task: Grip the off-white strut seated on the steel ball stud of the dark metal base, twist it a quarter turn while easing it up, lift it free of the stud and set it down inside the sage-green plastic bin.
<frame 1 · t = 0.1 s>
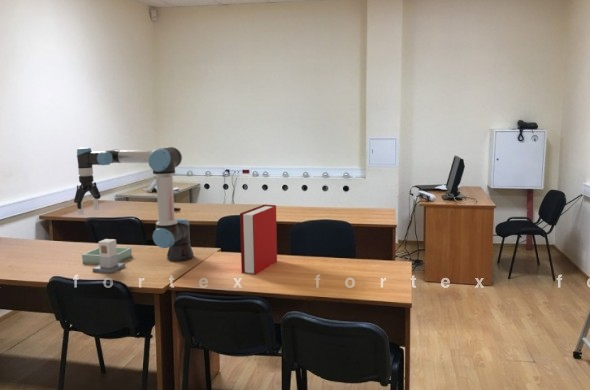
hand: (88, 212, 285), 28 cm above the table, fingers open, 13 cm apart
strut: (109, 265, 270), point 2 cm above the table, touching stud block
stud block: (109, 269, 270), on the table
book: (260, 267, 272), on the table
bin: (107, 259, 288), on the table
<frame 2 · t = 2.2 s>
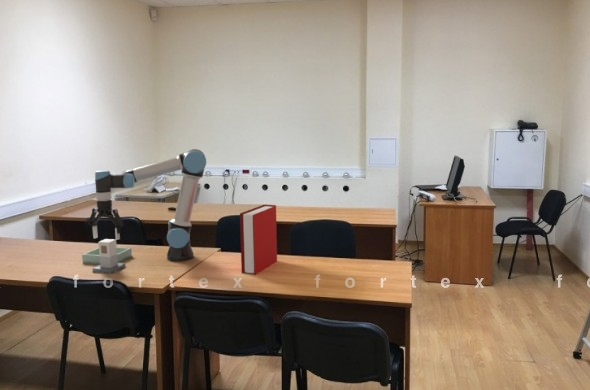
hand: (106, 238, 267), 17 cm above the table, fingers open, 13 cm apart
nothing on the table moved.
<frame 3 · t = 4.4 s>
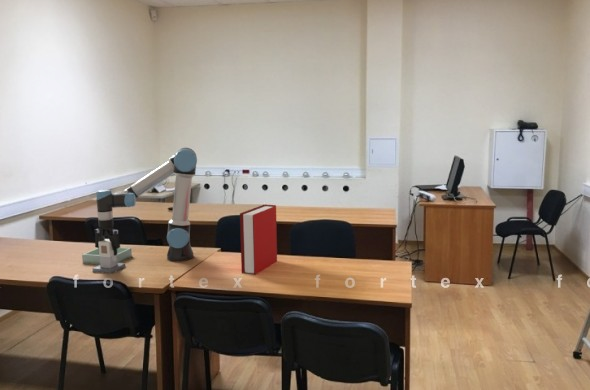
hand: (108, 260, 269), 5 cm above the table, fingers closed on strut, 6 cm apart
strut: (109, 265, 270), point 2 cm above the table, touching gripper, stud block
everything else where it was.
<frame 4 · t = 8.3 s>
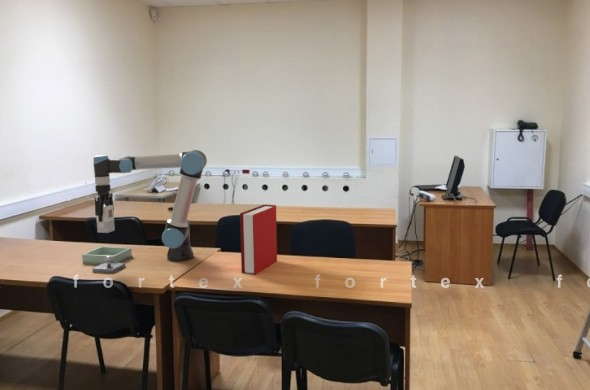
hand: (105, 225, 272), 23 cm above the table, fingers closed on strut, 6 cm apart
strut: (106, 231, 272), point 20 cm above the table, touching gripper
everything else where it was.
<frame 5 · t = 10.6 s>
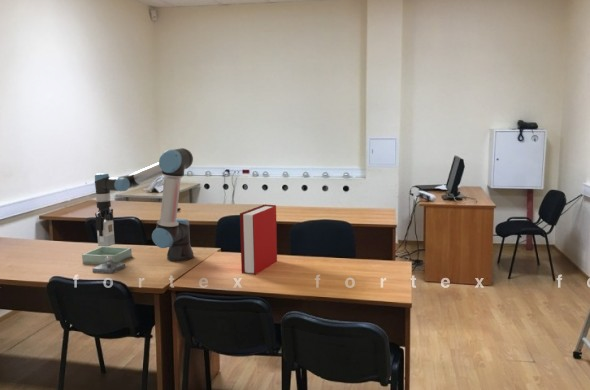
hand: (106, 239, 286), 12 cm above the table, fingers closed on strut, 6 cm apart
strut: (106, 244, 287), point 9 cm above the table, touching gripper
everything else where it was.
when the fingers open (6 cm above the table, at t = 12.5 s): strut drops 2 cm, resting on bin.
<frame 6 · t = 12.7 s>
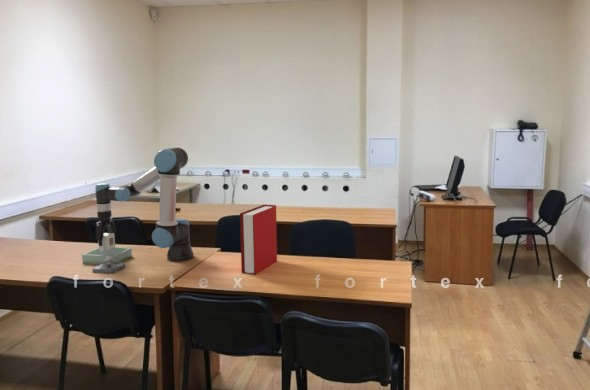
hand: (107, 248, 287), 6 cm above the table, fingers open, 9 cm apart
strut: (107, 257, 288), point 1 cm above the table, touching bin
everything else where it was.
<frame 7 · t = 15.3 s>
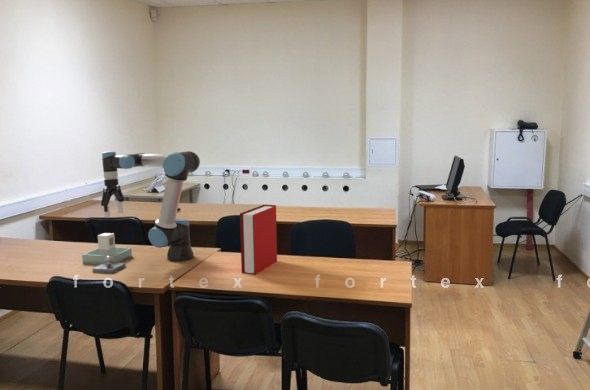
hand: (114, 214, 289), 25 cm above the table, fingers open, 13 cm apart
nothing on the table moved.
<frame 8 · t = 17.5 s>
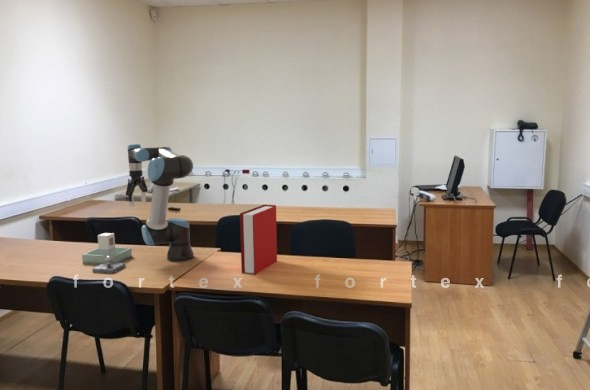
hand: (137, 204, 303), 29 cm above the table, fingers open, 13 cm apart
nothing on the table moved.
at the end: strut inside the target area on the bin (0.0 cm from its centre), point 1.0 cm above the bin's base; the gripper is holding nothing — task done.
